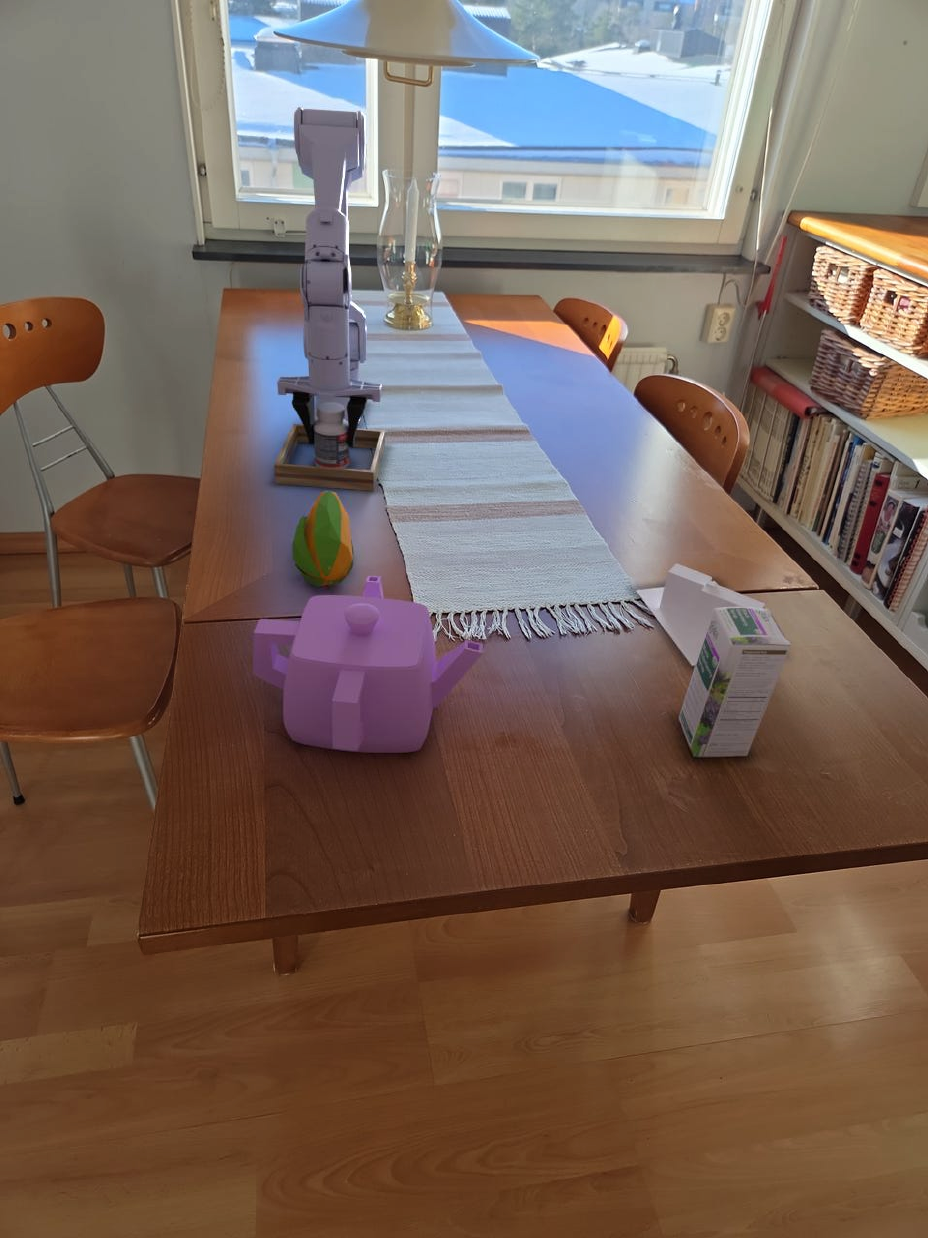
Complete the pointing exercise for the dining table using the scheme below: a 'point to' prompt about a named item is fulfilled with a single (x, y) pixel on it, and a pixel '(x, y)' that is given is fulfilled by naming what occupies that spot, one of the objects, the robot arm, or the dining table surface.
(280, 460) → the picture frame
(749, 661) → the syrup box
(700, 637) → the napkin holder
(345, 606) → the teakettle
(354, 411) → the robot arm
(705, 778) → the dining table surface
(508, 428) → the dining table surface
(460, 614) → the dining table surface
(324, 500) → the corn
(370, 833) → the dining table surface
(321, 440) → the pill bottle
